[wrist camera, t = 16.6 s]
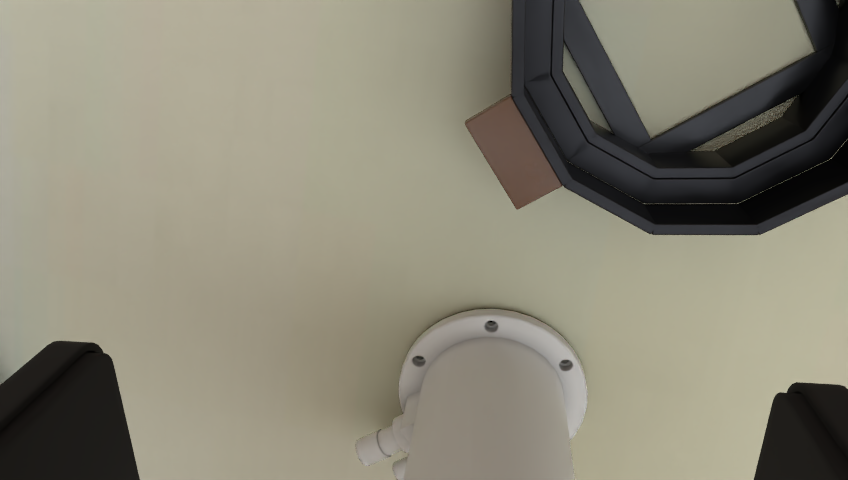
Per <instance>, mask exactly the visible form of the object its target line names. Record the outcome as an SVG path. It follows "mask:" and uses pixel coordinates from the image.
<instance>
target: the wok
mask: <svg viewBox="0 0 848 480" xmlns="http://www.w3.org/2000/svg"><path fill="white" fill-rule="evenodd" d="M794 1H795V4H796V6H797V8H798V11H799V13H800V15H801V18H802V20H803V23H804V25H805V27H806V30H807V32H808V35H809V37H810V39H811V42H812V44H813V46H814V49H815V51H816V52H814V53H812V54H810V55H808V56H806V57H804V58H803V59H801V60H799V61H797V62H795V63H793V64H791V65H789V66H788V67H786V68H784V69H782V70H780V71H778V72H776V73H774V74H773V75H771V76H769V77H767V78H765V79H763V80H761V81H759V82H758V83H756V84H754V85H752V86H750V87H748V88H746V89H744V90H743V91H741V92H739V93H737V94H735V95H733V96H731V97H729V98H728V99H726V100H724V101H722V102H720V103H718V104H716V105H714V106H713V107H711V108H709V109H707V110H705V111H703V112H701V113H699V114H698V115H696V116H694V117H692V118H690V119H688V120H686V121H684V122H683V123H681V124H679V125H677V126H675V127H673V128H671V129H670V130H668V131H666V132H664V133H662V134H660V135H658V136H656V137H655V138H653V139H650V137H649V135H648V133H647V131H646V129H645V127H644V125H643V123H642V121H641V119H640V117H639V115H638V114H637V112H636V110H635V108H634V106H633V104H632V102H631V100H630V98H629V96H628V94H627V92H626V91H625V89H624V87H623V85H622V83H621V81H620V79H619V77H618V75H617V73H616V71H615V69H614V67H613V66H612V64H611V62H610V60H609V58H608V56H607V54H606V52H605V50H604V48H603V46H602V44H601V42H600V41H599V39H598V37H597V35H596V33H595V31H594V29H593V27H592V25H591V23H590V21H589V19H588V18H587V16H586V14H585V12H584V10H583V8H582V6H581V4H580V2H579V0H512V7H511V94H509V95H508V96H506V97H504V98H503V99H501V100H499V101H498V102H496V103H494V104H493V105H491V106H489V107H488V108H486V109H484V110H483V111H481V112H479V113H477V114H476V115H474V116H472V117H471V118H469V119H467V120H466V121H465V125H466V127H467V129H468V130H469V132H470V134H471V135H472V137H473V139H474V140H475V142H476V143H477V145H478V147H479V148H480V150H481V152H482V153H483V155H484V157H485V158H486V160H487V162H488V163H489V165H490V166H491V168H492V170H493V171H494V173H495V175H496V176H497V178H498V180H499V181H500V183H501V185H502V186H503V188H504V189H505V191H506V193H507V194H508V196H509V198H510V199H511V201H512V203H513V204H514V206H515V208H516V209H520V208H521V207H523V206H525V205H527V204H529V203H531V202H533V201H535V200H536V199H538V198H540V197H542V196H544V195H546V194H548V193H550V192H551V191H553V190H555V189H557V188H559V187H561V186H562V185H563V186H564V187H565V188H567V189H568V190H570V191H572V192H574V193H576V194H578V195H579V196H581V197H583V198H585V199H587V200H589V201H590V202H592V203H594V204H596V205H598V206H599V207H601V208H603V209H605V210H607V211H609V212H610V213H612V214H614V215H616V216H618V217H620V218H621V219H623V220H625V221H627V222H629V223H631V224H632V225H634V226H636V227H638V228H640V229H642V230H643V231H645V232H647V233H649V234H651V233H652V234H653V235H758V234H759V235H761V234H763V233H765V232H767V231H769V230H772V229H774V228H776V227H778V226H780V225H782V224H784V223H787V222H789V221H791V220H793V219H795V218H797V217H800V216H802V215H804V214H806V213H808V212H810V211H813V210H815V209H817V208H819V207H821V206H823V205H825V204H828V203H830V202H832V201H834V200H836V199H838V198H841V197H843V196H845V195H847V194H848V0H840V3H839V8H838V6H837V4H836V1H835V0H794ZM564 42H565V44H566V46H567V48H568V49H569V51H570V53H571V55H572V57H573V59H574V61H575V62H576V64H577V66H578V68H579V70H580V72H581V74H582V75H583V77H584V79H585V81H586V83H587V85H588V87H589V88H590V90H591V92H592V94H593V96H594V98H595V100H596V101H597V103H598V105H599V107H600V109H601V111H602V113H603V115H604V116H605V118H606V120H607V122H608V124H609V126H610V128H611V129H612V131H613V133H614V134H613V133H611V132H610V131H608V130H606V129H604V128H602V127H601V126H599V125H597V124H595V123H594V122H592V121H590V120H589V118H588V116H587V114H586V113H585V111H584V109H583V107H582V105H581V103H580V102H579V100H578V98H577V96H576V94H575V92H574V91H573V89H572V87H571V85H570V83H569V81H568V80H567V78H566V76H565V74H564V72H563V48H564ZM527 91H528V92H527ZM798 94H799V95H798ZM796 95H798V97H797V98H796V99H795V100H794V102H793V103H792V104H791V106H790V107H789V108H788V109H787V111H786V112H785V113H784V115H783V116H782V117H781V118H779V119H777V120H775V121H773V122H771V123H769V124H767V125H765V126H763V127H761V128H759V129H757V130H755V131H753V132H751V133H750V134H748V135H746V136H744V137H742V138H740V139H738V140H736V141H734V142H732V143H730V144H728V145H726V146H724V147H722V148H720V149H718V150H716V151H690V150H692V149H694V148H696V147H698V146H700V145H702V144H704V143H706V142H707V141H709V140H711V139H713V138H715V137H717V136H719V135H721V134H723V133H725V132H727V131H729V130H731V129H733V128H734V127H736V126H738V125H740V124H742V123H744V122H746V121H748V120H750V119H752V118H754V117H756V116H758V115H760V114H761V113H763V112H765V111H767V110H769V109H771V108H773V107H775V106H777V105H779V104H781V103H783V102H785V101H787V100H788V99H790V98H792V97H794V96H796ZM536 107H537V108H536ZM540 114H541V115H540ZM544 121H545V122H544ZM548 128H549V129H548ZM552 135H553V136H552ZM846 140H847V141H846ZM845 141H846V142H845ZM556 142H557V143H556ZM844 142H845V143H844ZM843 143H844V144H843ZM841 146H842V147H841ZM840 147H841V148H840ZM839 148H840V149H839ZM838 149H839V150H838ZM836 152H837V153H836ZM835 153H836V154H835ZM834 154H835V155H834ZM833 155H834V156H833ZM565 158H566V159H565ZM830 158H832V159H830ZM829 159H830V160H829ZM827 160H828V161H827ZM567 161H568V162H567ZM825 161H826V162H825ZM823 162H824V163H823ZM821 163H822V164H821ZM572 164H573V165H572ZM819 164H820V165H819ZM574 165H575V166H574ZM576 166H577V167H576ZM814 166H815V167H814ZM578 167H579V168H578ZM812 167H813V168H812ZM810 168H811V169H810ZM808 169H809V170H808ZM583 170H584V171H583ZM806 170H807V171H806ZM585 171H586V172H585ZM804 171H805V172H804ZM587 172H588V173H587ZM802 172H803V173H802ZM800 173H801V174H800ZM798 174H799V175H798ZM592 175H593V176H592ZM796 175H797V176H796ZM594 176H595V177H594ZM794 176H795V177H794ZM596 177H597V178H596ZM792 177H793V178H792ZM790 178H791V179H790ZM785 180H786V181H785ZM603 181H604V182H603ZM783 181H784V182H783ZM605 182H606V183H605ZM781 182H782V183H781ZM607 183H608V184H607ZM779 183H780V184H779ZM777 184H778V185H777ZM775 185H776V186H775ZM612 186H613V187H612ZM773 186H774V187H773ZM614 187H615V188H614ZM771 187H772V188H771ZM616 188H617V189H616ZM769 188H770V189H769ZM767 189H768V190H767ZM765 190H766V191H765ZM621 191H622V192H621ZM763 191H764V192H763ZM623 192H624V193H623ZM761 192H762V193H761ZM625 193H626V194H625ZM627 194H628V195H627ZM756 194H757V195H756ZM754 195H755V196H754ZM752 196H753V197H752ZM632 197H633V198H632ZM750 197H751V198H750ZM634 198H635V199H634ZM748 198H749V199H748ZM636 199H637V200H636ZM746 199H747V200H746ZM744 200H745V201H744ZM742 201H743V202H742ZM641 202H642V203H641ZM740 202H741V203H740ZM643 203H645V204H643ZM692 203H739V204H692Z"/></svg>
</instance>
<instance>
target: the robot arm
mask: <svg viewBox="0 0 848 480" xmlns="http://www.w3.org/2000/svg"><path fill="white" fill-rule="evenodd" d="M491 320H492V321H494V322H489V321H491ZM565 359H567V360H565ZM587 398H588V391H587V384H586V378H585V374H584V371H583V368H582V364H581V362H580V360H579V358H578V356H577V355H576V353H575V351H574V349H573V348H572V347H571V346H570V345H569V343H568V342H567V341H566V340H565V339H564V338H563V336H561V335H560V334H559V333H557V332H556V331H555V330H554V329H552V328H551V327H550V326H548V325H547V324H545V323H543V322H541V321H539V320H537V319H535V318H533V317H531V316H527V315H524V314H521V313H518V312H515V311H508V310H501V309H476V310H471V311H466V312H461V313H458V314H455V315H453V316H450V317H447V318H445V319H443V320H441V321H439V322H438V323H436V324H435V325H433V326H431V327H430V328H428V329H427V330H426V331H425V332H424V333H423V334H422V335H421V336H420V337H419V338H418V339H417V340H416V341H415V343H414V344H413V345H412V347H411V348H410V350H409V351H408V353H407V356H406V358H405V361H404V363H403V366H402V370H401V375H400V378H399V399H400V405H401V409H402V412H403V414H402V415H400V416H397V417H395V418H394V420H393V421H392V425H391V426H389V427H387V428H385V429H383V430H381V429H380V430H378V431H375V432H373V433H371V434H369V435H367V436H364V437H362V438H360V439H358V440H357V442H356V452H357V455H358V458H359V459H360V461H361V462H362V464H364V465H365V466H370V465H372V464H375V463H377V462H379V461H382V460H384V459H386V458H388V457H391V455H392V454H394V453H396V452H399V451H401V450H403V451H404V452H405V453H408V457H405V458H403V459H401V460H398V461H396V462H394V464H393V471H394V475H395V477H396V478H397V480H575V474H574V466H573V459H572V452H571V444H570V440H571V439H572V438H573V437H574V436H575V434H576V433H577V431H578V429H579V427H580V426H581V424H582V422H583V419H584V415H585V412H586V409H587ZM0 480H140V479H139V474H138V470H137V466H136V461H135V457H134V452H133V448H132V444H131V439H130V435H129V430H128V426H127V422H126V417H125V413H124V408H123V404H122V400H121V395H120V391H119V387H118V382H117V378H116V373H115V369H114V365H113V361H112V359H111V357H110V356H109V355H108V354H105V353H103V351H102V349H101V348H100V347H99V345H97V344H95V343H88V342H70V341H55V342H52V343H51V344H49V345H47V346H46V347H45V348H44V349H43V350H42V351H40V352H39V353H38V354H37V355H36V356H34V357H33V358H32V359H31V360H30V361H29V362H27V363H26V364H25V365H24V366H23V367H21V368H20V369H19V370H18V371H17V372H15V373H14V374H13V375H12V376H11V377H10V378H8V379H7V380H6V381H5V382H4V383H2V384H1V385H0ZM754 480H848V389H847V388H846V387H844V386H841V385H833V384H815V383H797V382H796V383H794V384H792V385H791V386H790V387H789V389H788V391H787V393H778V394H777V395H776V396H775V397H774V400H773V403H772V407H771V411H770V415H769V419H768V424H767V428H766V432H765V436H764V440H763V444H762V448H761V452H760V457H759V461H758V465H757V469H756V473H755V477H754Z"/></svg>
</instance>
